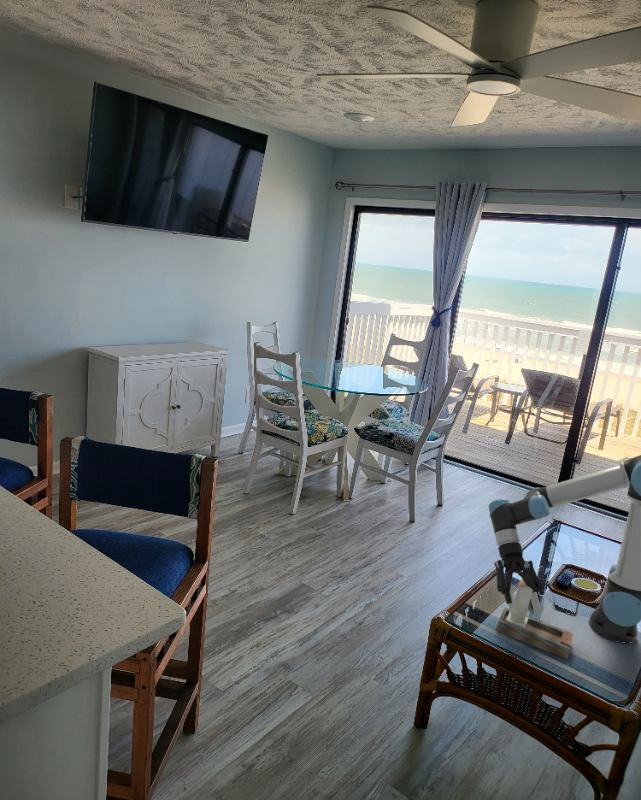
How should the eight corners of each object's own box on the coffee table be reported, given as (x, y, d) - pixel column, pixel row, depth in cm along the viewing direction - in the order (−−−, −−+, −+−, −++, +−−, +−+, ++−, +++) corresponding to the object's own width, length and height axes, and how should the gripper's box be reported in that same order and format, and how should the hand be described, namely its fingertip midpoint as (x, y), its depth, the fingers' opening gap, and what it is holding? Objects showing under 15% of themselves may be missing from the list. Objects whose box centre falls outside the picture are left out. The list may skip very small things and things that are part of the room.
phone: (578, 598, 229) (576, 614, 216) (577, 600, 230) (575, 617, 216) (556, 590, 233) (552, 606, 219) (556, 593, 233) (552, 608, 219)
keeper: (527, 622, 201) (536, 587, 199) (523, 631, 195) (533, 596, 192) (508, 615, 204) (517, 580, 201) (505, 624, 197) (514, 589, 195)
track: (570, 643, 197) (573, 632, 197) (567, 659, 188) (570, 647, 187) (502, 616, 207) (505, 605, 206) (496, 630, 197) (499, 619, 196)
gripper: (528, 549, 213) (546, 616, 202) (476, 547, 206) (491, 617, 194) (541, 542, 207) (561, 610, 196) (488, 540, 200) (505, 611, 189)
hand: (526, 613), depth 195 cm, fingers open, 9 cm apart
